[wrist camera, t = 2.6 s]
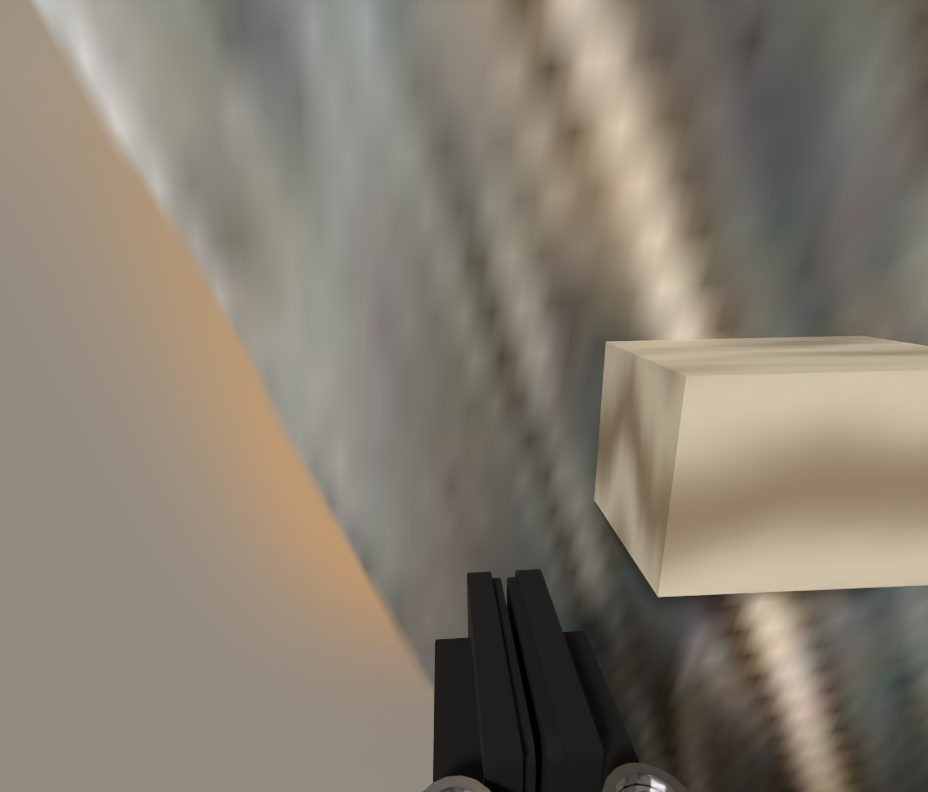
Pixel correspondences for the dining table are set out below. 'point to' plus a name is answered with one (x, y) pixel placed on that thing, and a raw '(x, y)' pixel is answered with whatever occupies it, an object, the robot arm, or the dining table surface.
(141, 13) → the dining table surface
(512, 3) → the dining table surface
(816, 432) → the maple brick
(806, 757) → the dining table surface
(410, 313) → the dining table surface
